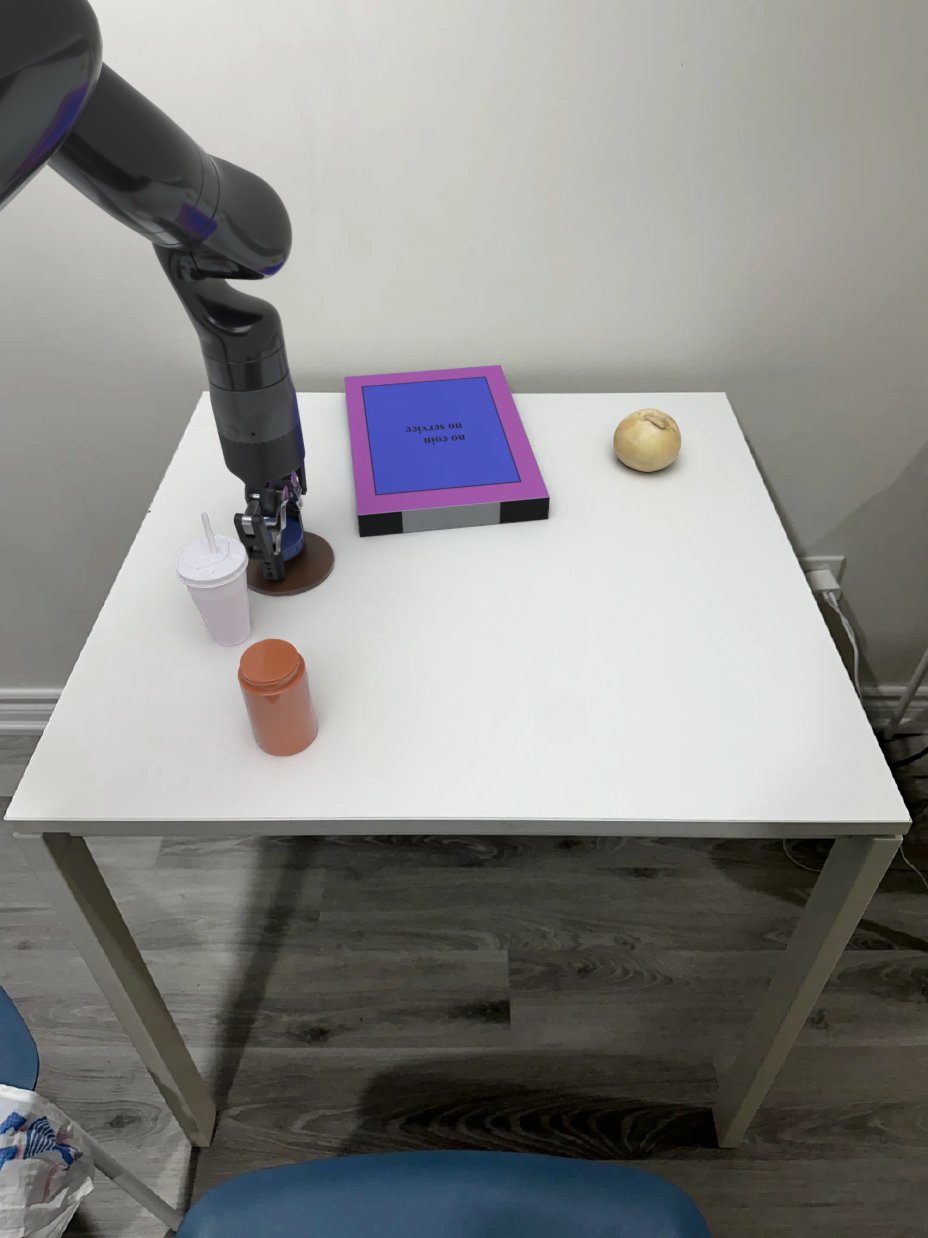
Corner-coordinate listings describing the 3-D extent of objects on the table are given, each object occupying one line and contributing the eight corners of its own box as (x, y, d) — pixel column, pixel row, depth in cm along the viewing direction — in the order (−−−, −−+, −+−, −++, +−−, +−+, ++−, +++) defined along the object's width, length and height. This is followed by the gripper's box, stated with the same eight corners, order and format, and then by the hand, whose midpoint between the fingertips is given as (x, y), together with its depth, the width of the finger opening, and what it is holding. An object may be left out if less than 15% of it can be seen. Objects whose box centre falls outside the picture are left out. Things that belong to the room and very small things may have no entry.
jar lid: (294, 521, 91) (291, 510, 90) (312, 552, 87) (310, 541, 86) (240, 537, 89) (237, 526, 88) (256, 570, 85) (254, 559, 84)
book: (500, 365, 114) (549, 497, 93) (500, 385, 116) (548, 519, 95) (343, 377, 112) (357, 515, 91) (345, 397, 114) (359, 537, 93)
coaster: (224, 590, 87) (223, 586, 86) (257, 530, 94) (256, 525, 93) (319, 601, 86) (319, 596, 85) (345, 539, 93) (344, 534, 92)
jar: (248, 755, 72) (226, 683, 66) (262, 705, 76) (243, 633, 69) (311, 757, 72) (296, 686, 65) (322, 708, 76) (309, 636, 69)
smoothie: (278, 625, 83) (252, 510, 73) (232, 666, 79) (199, 551, 69) (229, 601, 86) (198, 487, 76) (183, 640, 82) (144, 525, 72)
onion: (600, 468, 102) (606, 416, 97) (625, 436, 107) (632, 385, 102) (663, 487, 99) (674, 434, 94) (686, 454, 104) (697, 402, 99)
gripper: (272, 465, 72) (299, 609, 84) (319, 381, 82) (338, 520, 94) (187, 457, 73) (226, 601, 84) (244, 375, 83) (272, 513, 95)
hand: (285, 557), depth 89 cm, fingers closed on jar lid, 6 cm apart
